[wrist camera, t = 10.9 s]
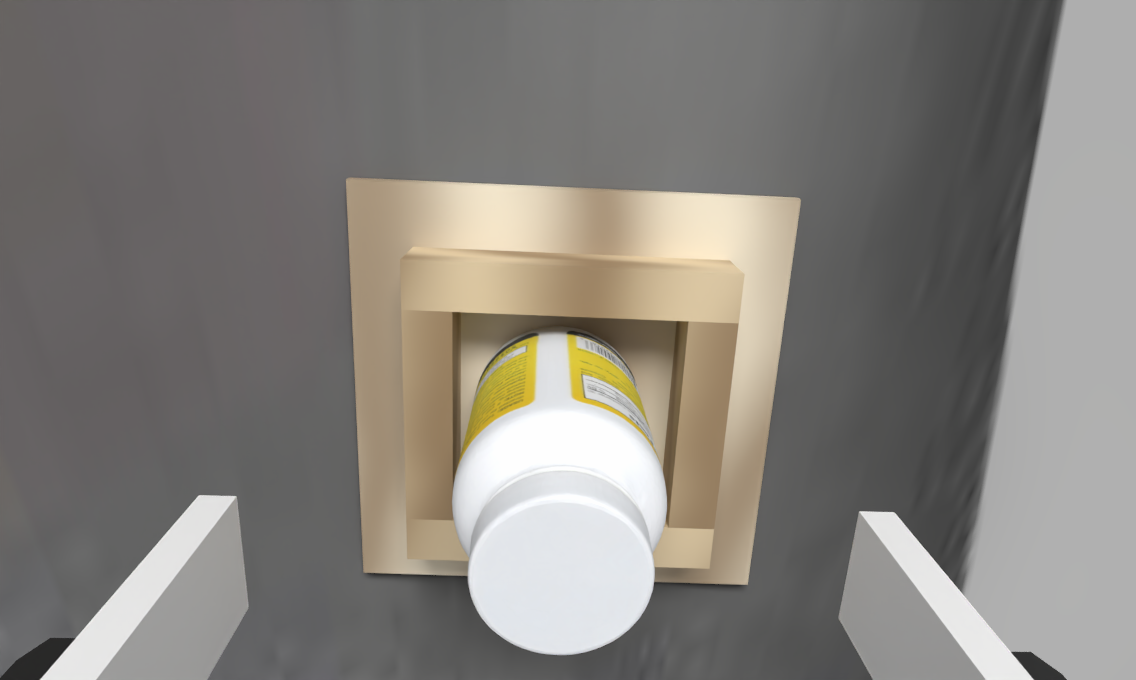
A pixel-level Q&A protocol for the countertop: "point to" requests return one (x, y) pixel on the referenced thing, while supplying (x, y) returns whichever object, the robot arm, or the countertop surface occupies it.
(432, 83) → the countertop surface
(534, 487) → the supplement bottle
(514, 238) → the beige square tray
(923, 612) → the robot arm
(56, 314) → the countertop surface
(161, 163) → the countertop surface
